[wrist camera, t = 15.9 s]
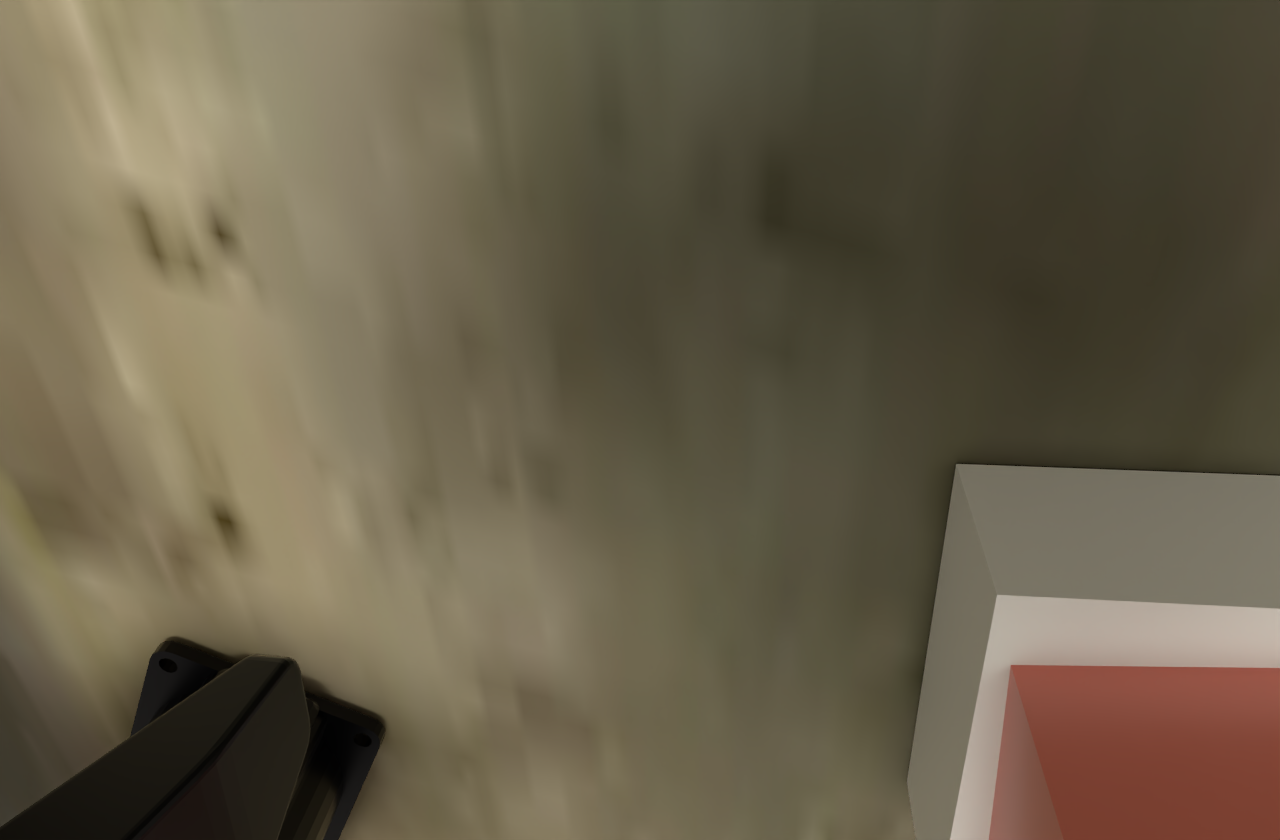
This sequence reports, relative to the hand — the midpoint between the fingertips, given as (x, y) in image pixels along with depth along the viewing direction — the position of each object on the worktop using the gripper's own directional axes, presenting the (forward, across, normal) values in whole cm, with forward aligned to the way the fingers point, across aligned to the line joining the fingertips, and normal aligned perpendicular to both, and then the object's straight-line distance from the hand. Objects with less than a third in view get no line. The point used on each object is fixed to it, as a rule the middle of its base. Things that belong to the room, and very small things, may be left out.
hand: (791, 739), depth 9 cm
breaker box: (+13, -8, +10) cm, 18 cm away
